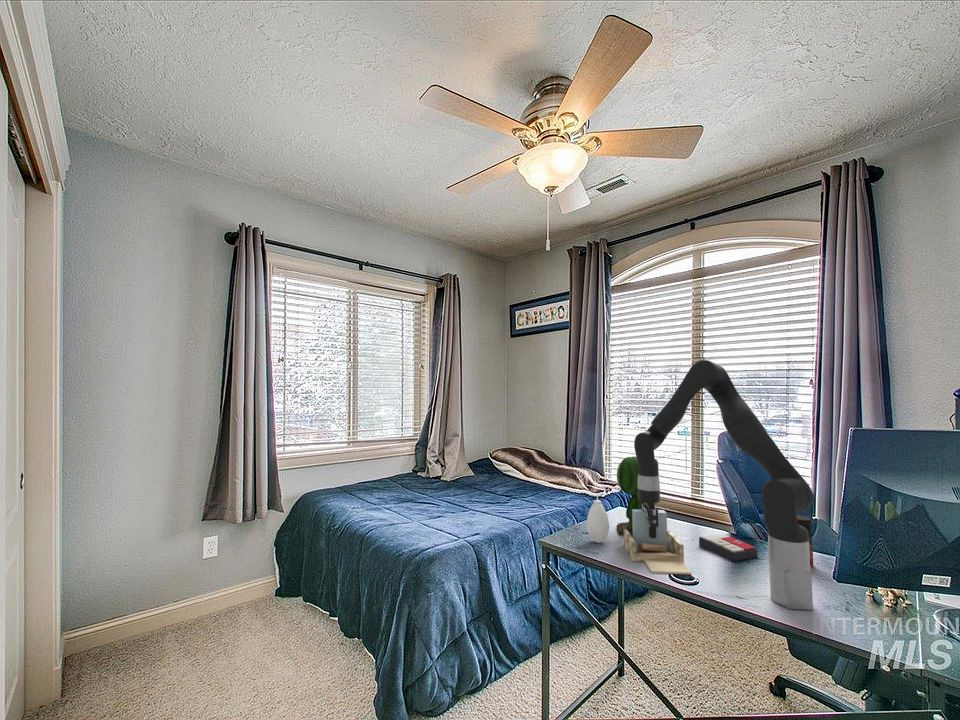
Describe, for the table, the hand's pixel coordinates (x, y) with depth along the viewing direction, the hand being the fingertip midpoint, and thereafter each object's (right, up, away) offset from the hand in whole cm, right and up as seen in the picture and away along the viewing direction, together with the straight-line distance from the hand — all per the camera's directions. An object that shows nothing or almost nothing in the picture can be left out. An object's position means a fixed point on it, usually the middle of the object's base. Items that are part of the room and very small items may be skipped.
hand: (649, 534), depth 159 cm
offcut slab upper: (-1, -4, -5) cm, 7 cm away
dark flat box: (+27, -6, -1) cm, 28 cm away
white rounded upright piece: (-16, -7, +9) cm, 20 cm away
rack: (0, -6, -3) cm, 6 cm away
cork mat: (0, -5, -15) cm, 16 cm away
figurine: (+3, -7, +20) cm, 21 cm away
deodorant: (+46, -5, -12) cm, 47 cm away
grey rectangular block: (0, -6, 0) cm, 6 cm away
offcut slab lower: (-1, -6, -7) cm, 10 cm away
